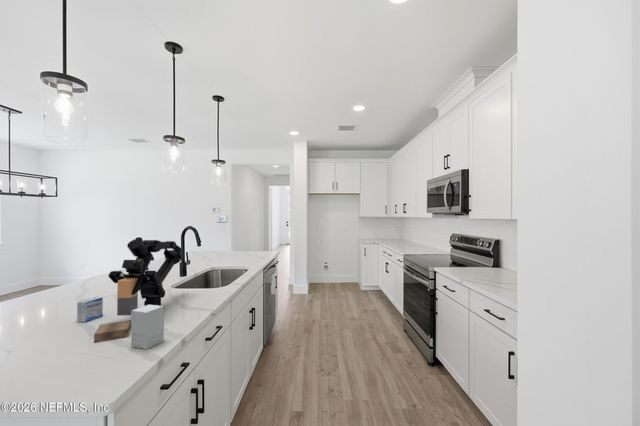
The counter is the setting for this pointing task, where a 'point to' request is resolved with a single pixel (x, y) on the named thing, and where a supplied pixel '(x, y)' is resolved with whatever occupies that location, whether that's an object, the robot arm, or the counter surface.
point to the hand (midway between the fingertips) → (125, 294)
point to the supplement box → (147, 326)
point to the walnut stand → (112, 331)
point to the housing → (126, 296)
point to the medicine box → (89, 309)
